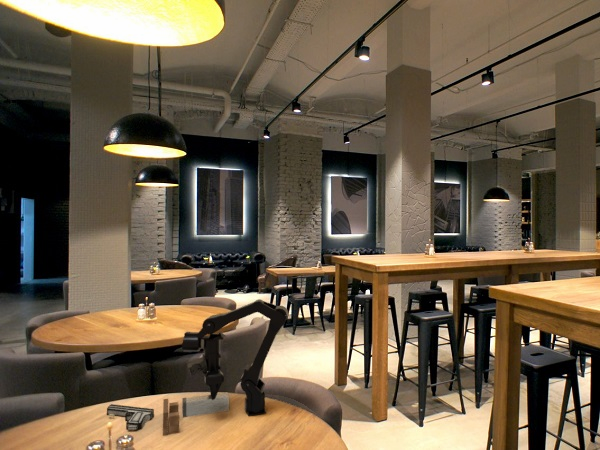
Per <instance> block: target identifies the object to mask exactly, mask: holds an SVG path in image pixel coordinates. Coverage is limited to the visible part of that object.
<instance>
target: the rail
mask: <svg viewBox="0 0 600 450" xmlns="http://www.w3.org/2000/svg"><path fill="white" fill-rule="evenodd" d="M229 400H230V396H229V393H228V391H227V392H221V393H220V392H218V393H217V396H216V398H215V400H212V399H211V394H205V395H197V396H192V397H182V401H181V402H182V403H181V405H182V409H181V411H182V412H181V413H182V418H189V417H194V416H195V417H196V416H201V415H208V414H215V413H221V412H227V411H230V401H229Z"/></svg>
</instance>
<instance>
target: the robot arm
mask: <svg viewBox="0 0 600 450" xmlns="http://www.w3.org/2000/svg"><path fill="white" fill-rule="evenodd" d="M256 313H259V314H261V315H262V316H263V317H265V318H267V319H269V323H268V327H267V331H266V333H265V336H264V337H263V339H262V342H261V344H260V346H259V348H258V351H257V352H256V356H255V358H254V360H253V362H252V363H251V365H250V364H249V363H247V365H246V366H245V367H244V370H243V373H242V375H241V377H240V379H239V380H240V388H241V390H242V391H243V392H244V393H245V398H244V410H245V412H246V414H247V416H248V417H251V416H256V415H257V416H258V415H262V414H267V411H266V394H265V392H264V389H265V386H266V383H265V382H264V381H263V380H262V379H261V373H262V369H263V367H264V363H265V361H266V360H267V359H266V358H267V357H268V354H269V352H270V350H271V347H272V345H273V344H274V341H275V338H277V337H276V336H277V334H278V333H279V332H280V330H281V329H282V327H283V326H284V324H285V323H286V321H287V319H288V317H289V310H288V309H287V307H286V306H283V305H276V304H273V303H271V302H268V301H265V300H263V299H256V300H255V301H252V302H251V303H247V304H245V305H242V306H241V307H237V308H235V309H233V310H230V311H228V312H224V313H223V312H222V313H217V314H212V315H210V316H209V317H207V318H205V320H203V323H202V324H201V325H202V326H201V327H202V328H201V329H200V330H199V331H198V332H196V331H186V332H184V333H183V334H184V336H183V339H182V342H181V350H182V351H183V352H200V351H201V349H203V353H202V357H200V358H196V359H195V360H193V361H191V362H189V363H188V364H186V365H187V369H188V372H189V374H190V376H191V377H192V376H195V375H196V374H197V373H198V374H199V373H200V372H202V373H203V374H204V383H205V385H206V386H207V387H208V390H209V392H210V395H211V399H212V400H215V398H216V396H217V394H218V393H219V390H220V388H221V387H222V384H224V381H225V376H224V373H223V371H221V367H222V366H221V358H222V355H221V341H222V340H223V341H224V339H225V338H226V334H224V333H223V332H222V331H220V330H221V329H223V328H224V327H225V326H227V325H229V324H231V323H233V322H236V321H239V320H240V319H241V320H242V319H243V318H246V317H248V316H251V315H252V314H253V315H254V314H256ZM218 331H220V332H218ZM216 332H218V333H216Z"/></svg>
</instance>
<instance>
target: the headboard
mask: <svg viewBox="0 0 600 450" xmlns="http://www.w3.org/2000/svg"><path fill="white" fill-rule="evenodd" d="M162 401H163V403H162V405H163V406H162V407H163V408H162V436H168V435H172V434H178V433H180V411H179V407H180V405H179V401H175V402H169V398H163V400H162Z"/></svg>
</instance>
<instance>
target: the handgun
mask: <svg viewBox="0 0 600 450" xmlns="http://www.w3.org/2000/svg"><path fill="white" fill-rule="evenodd" d="M154 415H155V408H149V407H139V406H130V405H120V404H112V403H111V404H109V405H108V406H107V407H106V416H109V417H119V418H124V419H125V422H126V423H125V430H127V431H141V430H142V429H143V427H144V425H145V424H146V423H147V422H151V421H152V420H153V419H154V418H155V416H154Z"/></svg>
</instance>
